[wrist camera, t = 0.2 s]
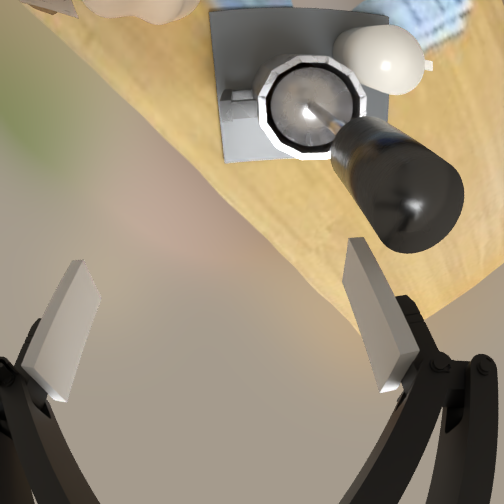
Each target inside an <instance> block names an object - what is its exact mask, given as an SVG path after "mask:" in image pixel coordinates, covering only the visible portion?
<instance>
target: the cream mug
mask: <svg viewBox="0 0 504 504" xmlns="http://www.w3.org/2000/svg"><path fill="white" fill-rule="evenodd" d="M332 54H333V59H334V60H336V61H337V62H339V63H341V64H342V65H344V66H345V67H347V68H349V69H350V70H352V71H353V72H354V73H355V75H356V77H357V79H358V81H359V83H360V84H361V85H364V86H367V87H370V88H373V89H376V90H378V91H381V92H384V93H387V94H391V95H401V94H405V93H407V92H409V91H411V90H413V89H414V88H415V87H416V86H417V85H418V84H419V82H420V81H421V79H422V76H423V74H424V70H429V71H433V61H428V60H425V59H424V54H423V51H422V48H421V46H420V44H419V43H418V41H417V40H416V39H415V38H414V36H413V35H412V34H410V33H409V32H408V31H406V30H405V29H403V28H401V27H398V26H395V25H377V26H367V27H358V28H351V29H348V30H346V31H344V32H343V33H341V34H340V35H339V36H338V37H337V39H336V41H335V43H334V45H333V53H332Z"/></svg>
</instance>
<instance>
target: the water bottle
mask: <svg viewBox="0 0 504 504" xmlns="http://www.w3.org/2000/svg"><path fill="white" fill-rule="evenodd" d="M82 1H83V3H84V4H85V5H86V6H87V7H88V8H89V9H90V10H91V11H92V12H94V13H95V14H97V15H99V16H101V17H104V18H118V17H124V16H135V17H138V18H141V19H143V20H144V21H146V22H148V23H151V24H154V25H163V24H166V23H169V22H171V21H176V20H179V19H181V18H184V17H185V16H187V15H188V14H190V13H191V12H192V11H193V10H194V9H195V8H196V7H197V5H198V4H199V2H200V0H82ZM20 2H22V3H27V4H29V5H30V6H31V7H33V8H35V9H38V10H40V11H43V12H46V13H49V14H51V15H54V14H56V13H57V12H60V13H63V14H66V15H69V16H72V17H75V18H78V15H77V13H76V11H75V8H74V6H73V3H72V1H71V0H20ZM78 19H79V18H78Z"/></svg>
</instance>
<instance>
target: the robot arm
mask: <svg viewBox="0 0 504 504" xmlns="http://www.w3.org/2000/svg"><path fill="white" fill-rule="evenodd" d="M342 282H343V285H344V288H345V291H346V293H347V296H348V299H349V301H350V304H351V307H352V310H353V313H354V316H355V318H356V321H357V324H358V327H359V330H360V333H361V336H362V339H363V342H364V344H365V348H366V351H367V354H368V357H369V360H370V363H371V366H372V369H373V372H374V376H375V379H376V382H377V385H378V389H379V392H380V393H382V392H387V391H391V390H395V389H397V388H398V386H399V385H400V383H402V386H403V388H404V391H403V392H402V394H401V395H400V397H399V398H398V400H397V402H398V403H397V405H396V407H395V409H394V411H393V413H392V415H391V417H390V419H389V421H388V423H387V425H386V427H385V429H384V431H383V433H382V434H381V436H380V438H379V440H378V442H377V443H376V446H375V447H374V449H373V451H372V452H371V454H370V456H369V458H368V459H367V461H366V463H365V464H364V466H363V467H362V469H361V471H360V472H359V474H358V475H357V477H356V479H355V480H354V482H353V483H352V485H351V486H350V488H349V490H348V491H347V492H346V494H345V495H344V497H343V498H342V500H341V501H340V503H339V504H398V502H399V500H400V499H401V497H402V495H403V493H404V491H405V489H406V487H407V486H408V484H409V482H410V480H411V478H412V476H413V474H414V472H415V470H416V468H417V466H418V464H419V461H420V459H421V457H422V455H423V453H424V451H425V448H426V446H427V443H428V441H429V439H430V436H431V434H432V431H433V429H434V427H435V424H436V421H437V419H438V416H439V413H440V410H441V408H442V407H443V412H442V421H441V428H440V436H439V443H438V449H437V455H436V460H435V465H434V470H433V475H432V480H431V485H430V489H429V493H428V497H427V501H426V504H489V503H490V498H491V493H492V487H493V479H494V472H495V462H496V452H497V438H498V377H497V367H496V364H495V362H494V361H493V359H492V358H490V357H489V356H487V355H485V354H478V355H476V356H474V357H473V359H472V360H471V361H454V360H451V359H450V357H449V356H448V355H446V354H445V353H443V352H440V351H439V350H438V348H437V346H436V344H435V342H434V340H433V338H432V336H431V334H430V331H429V329H428V327H427V325H426V323H425V322H424V319H423V317H422V315H421V314H420V311H419V309H418V308H417V306H416V304H415V302H414V301H413V300H411V299H410V298H409V297H408V296H407V295H403V296H396V297H395V296H394V294H393V292H392V290H391V288H390V286H389V284H388V282H387V280H386V278H385V276H384V274H383V272H382V270H381V268H380V266H379V264H378V263H377V261H376V259H375V257H374V255H373V253H372V251H371V250H370V248H369V246H368V244H367V242H366V241H365V239H364V237H357V238H349V239H348V246H347V253H346V260H345V267H344V273H343V279H342ZM101 299H102V298H101V295H100V293H99V291H98V290H97V287H96V285H95V283H94V281H93V279H92V277H91V275H90V272H89V270H88V268H87V266H86V264H85V261H84V260H73V261H72V262H71V263H70V265H69V267H68V269H67V271H66V272H65V274H64V276H63V278H62V279H61V281H60V283H59V285H58V287H57V289H56V291H55V293H54V295H53V296H52V298H51V300H50V303H49V304H48V306H47V308H46V310H45V312H44V314H43V317H42V319H41V318H39V319H38V320H37V321H36V322H35V323H34V324H33V326H32V327H31V329H30V331H29V333H28V337H26V340H25V344H23V347H22V349H21V351H20V353H19V356H18V358H17V360H16V363H15V365H14V366H13V365H12V364H11V363H10V362H9V361H8V359H7V358H5V357H0V504H35V503H34V499H33V495H32V492H33V494H34V496H35V499H36V501H37V503H38V504H100V503H99V501H98V500H97V498H96V496H95V495H94V493H93V491H92V490H91V488H90V486H89V485H88V483H87V481H86V479H85V478H84V476H83V474H82V472H81V470H80V469H79V467H78V465H77V463H76V461H75V459H74V457H73V455H72V453H71V451H70V449H69V447H68V445H67V443H66V441H65V439H64V437H63V434H62V432H61V430H60V428H59V425H58V423H57V421H56V418H55V416H54V413H53V411H52V409H51V406H50V404H49V402H48V401H47V400H46V398H47V394H49V395H50V396H51V397H52V398H53V399H54V400H56V401H62V402H67V401H68V398H69V394H70V390H71V387H72V384H73V380H74V377H75V373H76V370H77V367H78V364H79V361H80V357H81V354H82V351H83V349H84V346H85V343H86V340H87V337H88V334H89V331H90V328H91V325H92V323H93V320H94V317H95V315H96V312H97V309H98V307H99V304H100V302H101ZM31 490H32V491H31Z"/></svg>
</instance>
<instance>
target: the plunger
mask: <svg viewBox="0 0 504 504" xmlns="http://www.w3.org/2000/svg"><path fill="white" fill-rule="evenodd" d="M270 108H271V114H272V118H273V120H274V122H275V124H276V126H277V128H278V129H279V130H280V132H281V133H282V134H283V135H284V136H285V137H287V138H288V139H290V140H291V141H293V142H295V143H298V144H301V145H305V146H319V145H324V144H327V143H329V142H331V141H333V142H332V145H331V151H330V158H331V163H332V167H333V169H334V171H335V173H336V174H337V175H338V177H339V178H340V180H341V181H342V183H343V184H344V185H345V187H346V188H347V190H348V191H349V193H350V194H351V195H352V197H353V198H354V200H355V201H356V203H357V204H358V206H359V207H360V209H361V210H362V212H363V213H364V215H365V216H366V218H367V219H368V221H369V222H370V224H371V226H372V227H373V229H374V230H375V232H376V233H377V235H378V237H379V238H380V240H381V241H382V242H383V244H384V245H386V246H387V247H388V248H390V249H391V250H393V251H396V252H399V253H406V254H408V253H417V252H421V251H424V250H426V249H429V248H431V247H432V246H434V245H436V244H437V243H439V242H440V241H441V240H442V239H443V238H444V237H446V236H447V235H448V233H449V232H450V231H451V230H452V228H453V227H454V225H455V224H456V222H457V220H458V218H459V216H460V214H461V211H462V207H463V203H464V187H463V183H462V179H461V177H460V175H459V173H458V172H457V170H456V169H455V168H454V167H453V166H452V165H450V164H449V163H448V162H446V161H445V160H444V159H442V158H441V157H439V156H438V155H436V154H435V153H434V152H432V151H431V150H429V149H428V148H426V147H425V146H423V145H422V144H420V143H419V142H417V141H416V140H414V139H413V138H411V137H410V136H408V135H407V134H405V133H403V132H402V131H400V130H399V129H397V128H395V127H394V126H392V125H390V124H389V123H387V122H385V121H384V120H382V119H379V118H377V117H372V116H363V117H358V118H355V119H353V120H351V117H352V111H353V103H352V97H351V94H350V92H349V90H348V88H347V86H346V85H345V83H344V82H343V81H342V80H341V79H340V78H339V77H338V76H336V75H335V74H333V73H331V72H329V71H327V70H324V69H321V68H316V67H304V68H299V69H296V70H293V71H291V72H289V73H288V74H286V75H285V76H284V77H283V78H282V79H281V80H280V81H279V82H278V83H277V85H276V86H275V88H274V90H273V93H272V96H271V102H270ZM350 120H351V121H350Z"/></svg>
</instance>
